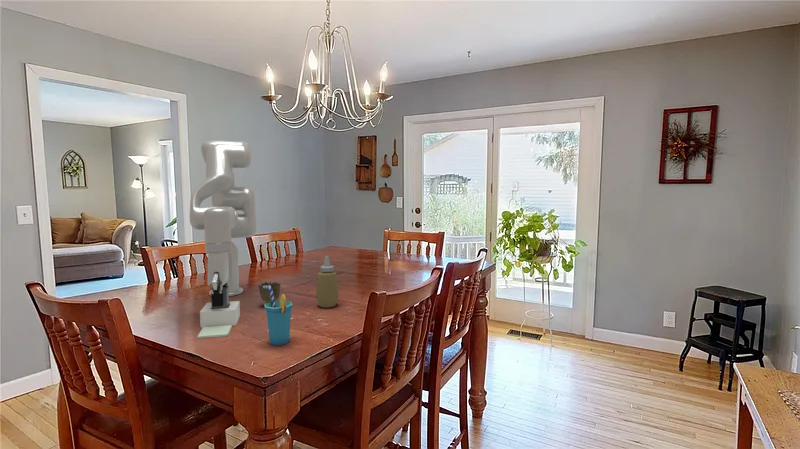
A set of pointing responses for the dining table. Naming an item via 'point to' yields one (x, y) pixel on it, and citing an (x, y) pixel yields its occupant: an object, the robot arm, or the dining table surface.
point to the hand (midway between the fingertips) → (220, 301)
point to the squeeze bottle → (327, 285)
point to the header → (220, 315)
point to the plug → (225, 298)
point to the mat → (215, 331)
